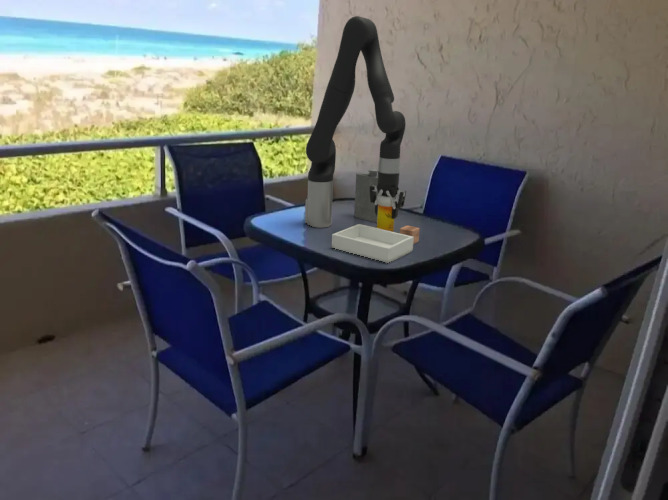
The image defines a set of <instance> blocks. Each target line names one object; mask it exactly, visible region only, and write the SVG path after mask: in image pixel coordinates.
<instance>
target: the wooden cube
mask: <svg viewBox="0 0 668 500" xmlns="http://www.w3.org/2000/svg"><path fill="white" fill-rule="evenodd" d="M399 233H400V234H404V235H408V236H412V237H414V241H413V245H415V244H417V243H419V241H420V227H416V226H412V225H405V226H402V227H400V228H399Z"/></svg>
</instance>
